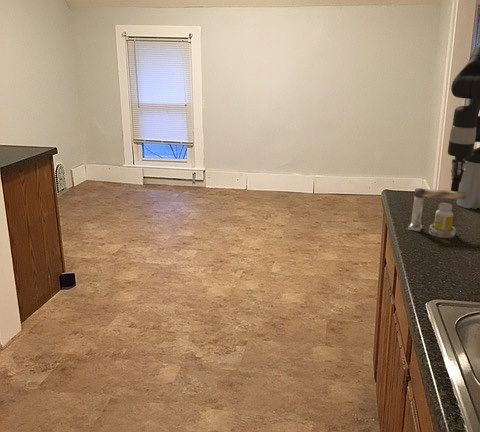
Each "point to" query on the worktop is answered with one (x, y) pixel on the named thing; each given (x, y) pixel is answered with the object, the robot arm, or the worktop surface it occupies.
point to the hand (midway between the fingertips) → (454, 192)
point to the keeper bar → (439, 194)
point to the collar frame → (417, 227)
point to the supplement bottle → (443, 217)
